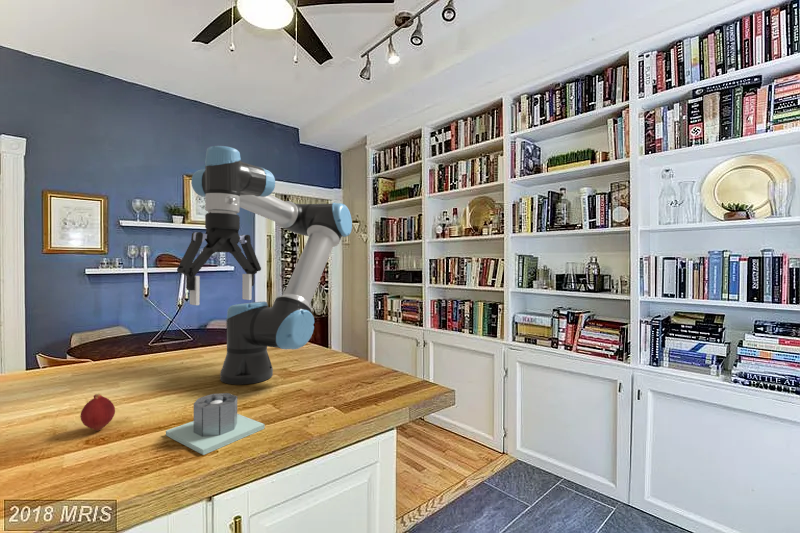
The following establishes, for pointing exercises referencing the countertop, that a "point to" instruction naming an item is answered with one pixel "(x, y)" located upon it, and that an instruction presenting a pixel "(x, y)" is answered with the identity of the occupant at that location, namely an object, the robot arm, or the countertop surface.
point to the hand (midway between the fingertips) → (222, 302)
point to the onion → (97, 412)
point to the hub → (215, 415)
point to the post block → (211, 443)
